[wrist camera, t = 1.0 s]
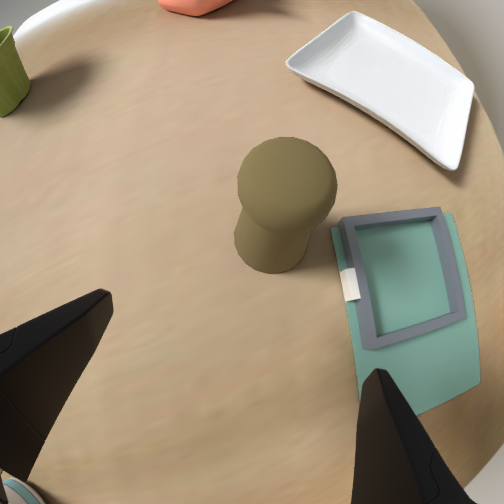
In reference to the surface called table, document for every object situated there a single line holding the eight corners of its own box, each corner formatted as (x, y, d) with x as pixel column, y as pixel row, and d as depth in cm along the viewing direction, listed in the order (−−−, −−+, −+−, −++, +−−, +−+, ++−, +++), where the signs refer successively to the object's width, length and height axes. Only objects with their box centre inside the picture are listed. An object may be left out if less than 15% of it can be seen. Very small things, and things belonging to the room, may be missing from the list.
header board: (478, 382, 21) (489, 384, 19) (361, 434, 20) (369, 441, 18) (449, 211, 25) (458, 204, 24) (327, 225, 24) (333, 218, 23)
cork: (310, 207, 25) (351, 130, 14) (305, 278, 23) (353, 237, 13) (239, 198, 25) (237, 112, 14) (229, 268, 23) (217, 219, 13)
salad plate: (277, 83, 29) (280, 61, 26) (348, 23, 34) (353, 7, 30) (441, 188, 26) (458, 174, 23) (464, 96, 31) (475, 83, 28)
